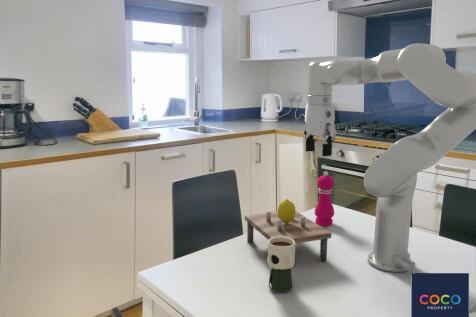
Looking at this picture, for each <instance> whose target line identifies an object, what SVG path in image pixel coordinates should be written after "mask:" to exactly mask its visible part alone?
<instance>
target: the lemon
mask: <svg viewBox="0 0 476 317" xmlns="http://www.w3.org/2000/svg"><path fill="white" fill-rule="evenodd" d="M277 211H278V217H279V219H280V220H282V222H284V223H285V224H288V223H289V222H291V221H292V220H293V219H294V217H295V213H296V206H295V204H294V202H292V201H291V200H289V199H287V198H286V199H285V200H283V201H281V202H280V203H279V204H278V207H277Z"/></svg>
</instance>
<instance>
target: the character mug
mask: <svg viewBox="0 0 476 317" xmlns="http://www.w3.org/2000/svg"><path fill="white" fill-rule="evenodd" d="M295 258H296V244H295V241H294V240H293V239H291V238H288V237H273V238H271V239H269V240H268V239H267V259H266V262H267V265H268V267H270V272H269V277H268V288H270V290H271V291H274V292H278V293H283V292H287V291H289V290H292V288H293V277H292V276H293V275H292V268H294V266H295V264H296V263H295V262H296V259H295Z"/></svg>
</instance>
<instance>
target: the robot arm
mask: <svg viewBox="0 0 476 317" xmlns="http://www.w3.org/2000/svg"><path fill="white" fill-rule="evenodd" d="M446 61H447V58H446V54H445V52H444V50H443V49H442V47H440V46H437V45H435V44H432V43H431V44H429V43H421V42H418V43H417V42H416V43H411V44H409V45H406V46H405V47H404V48H397V49H392V50H384V51H382V52H380V53H379V55H378V56H375V57H371V58H364V59H357V60H356V59H355V60H352V59H349V60H348V59H334V60H329V61H323V60H322V61H312V62H310V63H309V65H308V83H307V84H308V87H307V91H308V92H307V94H308V95H307V109H306V120H305V124H303V125H302V128H303V135H304V139H305V151H306V153H307V152H315V145H316V144H315V143H316V141H315V137H318V138H321V139H322V141H323V143H322V152H321V153H322V154H321V155H322V157H331V156H332V155H333V144H334V141H335V139H336V135H337V130H336V128H335V112H334V107H333V105H332V104H333V86H354V85H356V86H357V85H365V84H373V83H375V84H376V83H390V82H391V83H392V82H400V81H408V82H409V83H411V84H412V85H413V86H414V87H416V88H417V90H419V91H421V93H423V94H424V95H425V96H426V97H428V98H429V99H430V100H432V101H433V102H434V103H435V104H436V105H439V106H442V107H443V108H447V109H445V111H443V112H442V113H440V114H438V116H437V117H436V118H434V120H433V121H432V122H430V123H429V124H428V125H427V126H425V127H424V128H423V129H422V130H421V131H420V132H418V133H415V134H411V135H408V136H404V137H402V138H400V139H398V140H397V141H395V142H394V143H392V144H391V145H390V146H389V147H388V148H386V150H385V151H384V152H383V153H382V154H381V155H379V157H377V158H376V159H375V160H374V161H373V162H372V163H371V164H370V165H369V166H368V167H367V168H366V170H365V172H364V174H363V175H364V176H363V185H364V188H365V190H366V191H367V192H368V193H369V194H370V195H371V196H373V197H376V198H377V200H376V208H375V210H376V211H375V223H374V238H373V239H374V240H373V251H372V252H370V253H368V255H367V263H369V265H371V266H372V267H374V268H376V269H378V270H381V271H386V272H393V273H399V272H400V273H402V272H407V271H408V272H410V271H411V270H412V269H413V267H415V266H416V262H415V261H414V260H412V259H411V253H410V252H409V242H410V241H409V240H410V227H411V219H412V218H411V217H412V211H413V210H412V208H413V200H414V199H413V198H414V195H415V190H416V187H417V182H418V174H419V173H420V172H422V171H424V170H428V169H430V168H432V167H433V166H435V165H436V164H437V163H438V162H440V161H441V160H442V159H443V158H444V157H445V156H446V155H447V154H448V153H450V152H451V151H452V150H453V149H455V148H456V146H458V145H459V144H460V143H461V142H462V141H464V140H465V139H466V138H468V136H470V134H472V133H473V132H474V131H475V130H476V72H473V71H468V70H467V71H466V70H462V71H460V70H459V71H457V70H456V69H454V68H453V67H452V66H450V65H449V64H448V63H447V62H446Z"/></svg>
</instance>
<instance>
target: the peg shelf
mask: <svg viewBox="0 0 476 317" xmlns="http://www.w3.org/2000/svg"><path fill="white" fill-rule="evenodd" d="M244 221H245V222H246V223H247V225H246V226H247V236H246V237H247V238H246V239H247V240H246V241H247V243H249V244H253V243H254V229H255V230H256V231H257V232H259V233H260V234H261V235H262V236H263V237H264V238H265V239H266V240H267V241H268V240H269V239H271V238H273V237H288V238H291V239H293V240H294V241H295V245H296V244H303V243H308V242H309V243H310V242H315V241H320V243H319V244H320V249H319V261H320V262H323V263H325V262H327V257H328V254H327V253H328V239H332V232H331V231H328V230H327V229H325V228H324V227H323V226H320V225H317V224H316V223H315V222H314V221H313V220H311V219H310V218H308V217H306V216H304V214H302V213H300V212H298V211H296V213H295V217H294V219H293V220H292V221H291V222H289V223H288V224H285V223H284V222H282V220H280V219H279V217H278V210H276V211H266V212H261V213H259V212H258V213H252V214H245V215H244Z"/></svg>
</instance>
